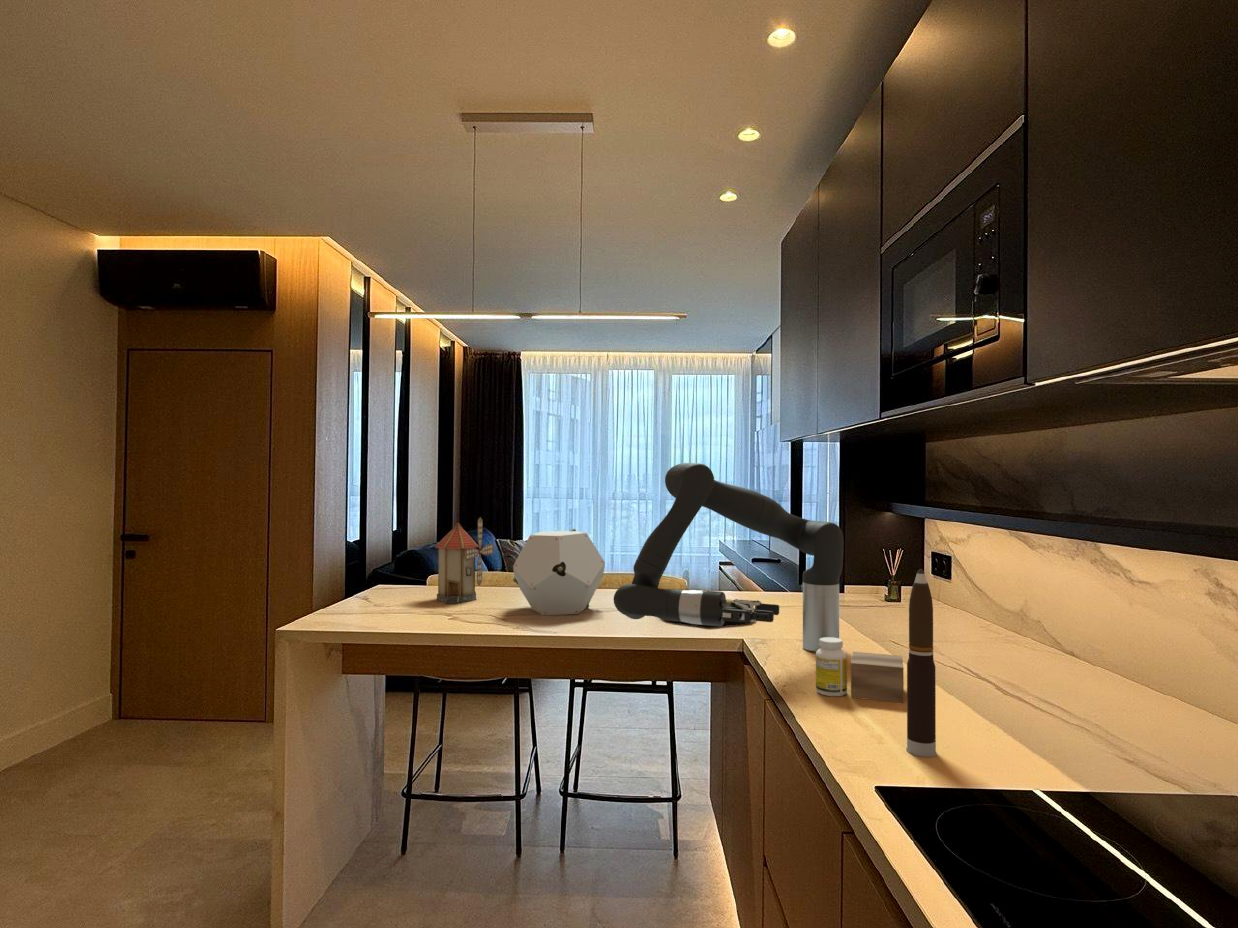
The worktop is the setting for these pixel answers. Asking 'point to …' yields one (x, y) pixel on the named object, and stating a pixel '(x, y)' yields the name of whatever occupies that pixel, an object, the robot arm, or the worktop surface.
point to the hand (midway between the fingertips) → (776, 613)
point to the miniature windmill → (460, 565)
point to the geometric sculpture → (559, 571)
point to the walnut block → (877, 677)
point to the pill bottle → (831, 667)
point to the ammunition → (921, 672)
